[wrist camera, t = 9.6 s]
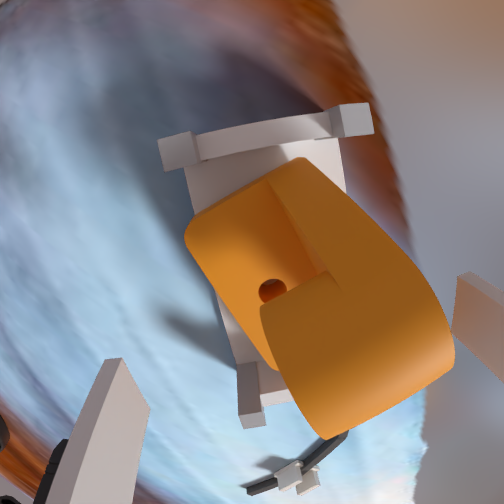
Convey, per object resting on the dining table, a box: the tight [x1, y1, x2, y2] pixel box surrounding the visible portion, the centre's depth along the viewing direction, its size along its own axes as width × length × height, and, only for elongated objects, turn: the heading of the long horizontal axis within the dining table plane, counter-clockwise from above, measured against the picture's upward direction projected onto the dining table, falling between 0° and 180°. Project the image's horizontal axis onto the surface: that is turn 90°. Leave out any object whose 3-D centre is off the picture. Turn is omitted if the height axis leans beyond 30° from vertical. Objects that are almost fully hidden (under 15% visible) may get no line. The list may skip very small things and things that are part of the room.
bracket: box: [184, 157, 455, 440], centre depth 13 cm, size 11×7×12 cm, turn 29°
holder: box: [157, 103, 374, 429], centre depth 17 cm, size 9×17×6 cm, turn 11°
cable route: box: [247, 430, 349, 496], centre depth 24 cm, size 6×23×3 cm, turn 160°
